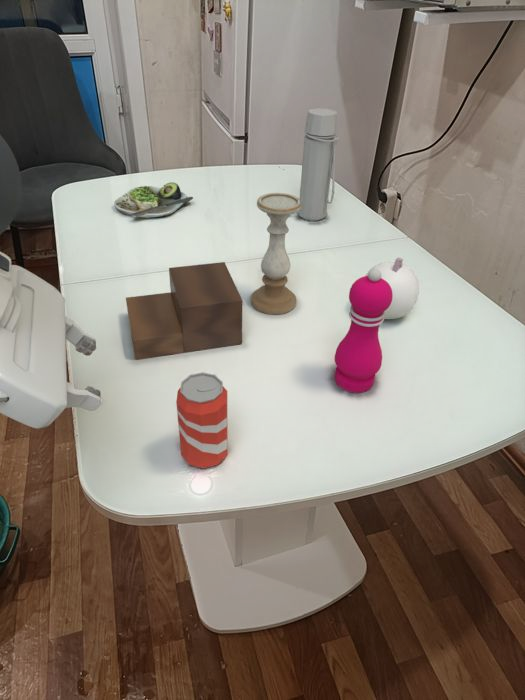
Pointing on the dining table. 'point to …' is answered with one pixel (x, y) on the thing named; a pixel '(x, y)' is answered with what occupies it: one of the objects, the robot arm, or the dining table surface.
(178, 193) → the avocado toast plate
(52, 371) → the robot arm
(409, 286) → the ornament
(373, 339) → the pepper mill
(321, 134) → the water bottle
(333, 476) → the dining table surface
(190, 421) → the beverage can
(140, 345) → the step shelf
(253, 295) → the candle holder
